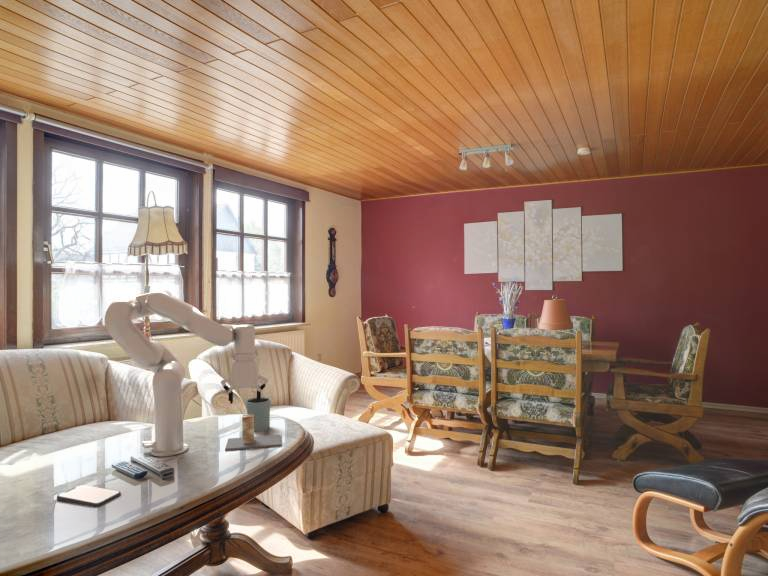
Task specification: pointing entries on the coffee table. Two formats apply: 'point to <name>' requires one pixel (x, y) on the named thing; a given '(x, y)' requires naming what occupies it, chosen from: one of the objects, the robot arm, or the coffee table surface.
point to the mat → (258, 442)
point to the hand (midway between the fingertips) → (244, 402)
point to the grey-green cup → (259, 412)
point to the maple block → (248, 428)
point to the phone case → (88, 495)
